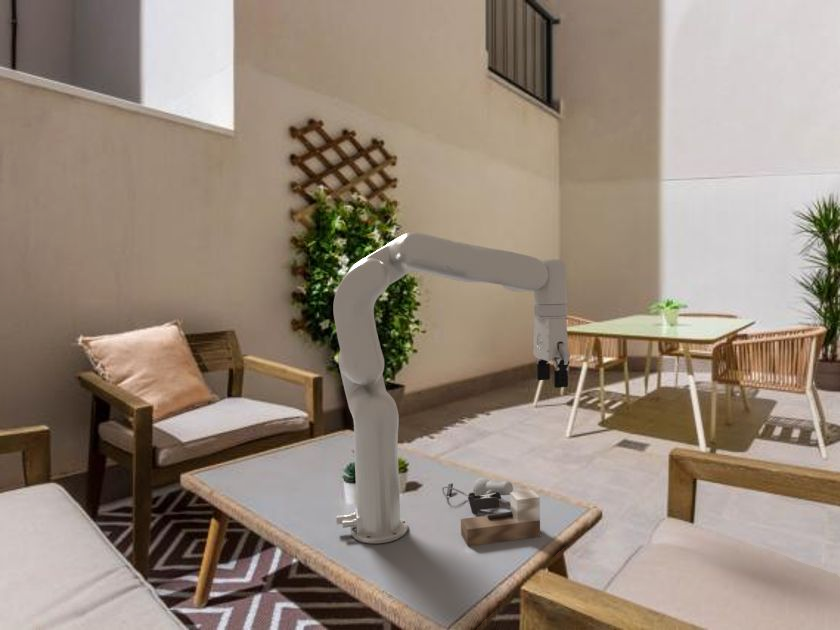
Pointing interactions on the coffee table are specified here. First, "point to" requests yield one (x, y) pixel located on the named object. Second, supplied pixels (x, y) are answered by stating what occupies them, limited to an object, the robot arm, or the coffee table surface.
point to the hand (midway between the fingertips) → (551, 383)
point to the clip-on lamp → (484, 494)
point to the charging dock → (505, 522)
